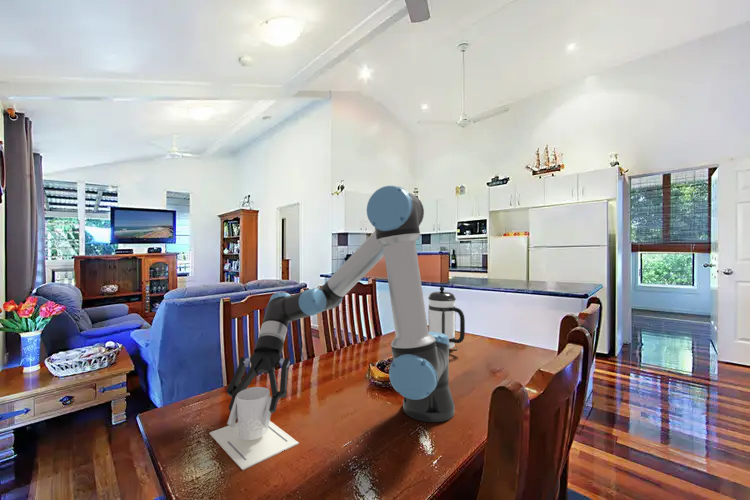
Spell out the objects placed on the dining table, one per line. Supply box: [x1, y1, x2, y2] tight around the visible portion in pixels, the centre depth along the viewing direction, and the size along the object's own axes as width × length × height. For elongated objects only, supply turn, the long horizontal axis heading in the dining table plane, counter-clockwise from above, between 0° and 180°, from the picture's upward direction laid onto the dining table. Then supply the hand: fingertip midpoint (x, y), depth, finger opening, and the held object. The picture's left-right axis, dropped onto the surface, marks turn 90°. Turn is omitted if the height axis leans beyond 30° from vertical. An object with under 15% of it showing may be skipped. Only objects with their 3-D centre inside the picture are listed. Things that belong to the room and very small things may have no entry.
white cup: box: [236, 386, 271, 440], centre depth 84 cm, size 8×8×10 cm
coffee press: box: [427, 286, 466, 351], centre depth 159 cm, size 17×16×30 cm
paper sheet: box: [209, 420, 300, 471], centre depth 84 cm, size 20×14×1 cm
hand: (247, 425), depth 81 cm, fingers closed on white cup, 8 cm apart
